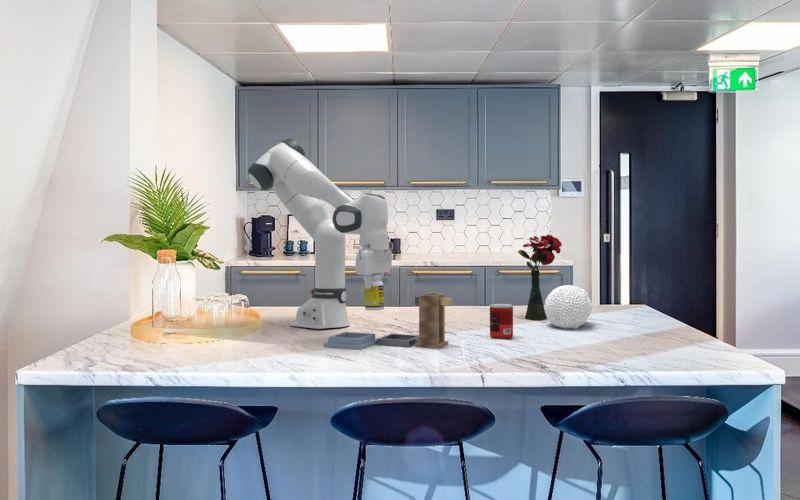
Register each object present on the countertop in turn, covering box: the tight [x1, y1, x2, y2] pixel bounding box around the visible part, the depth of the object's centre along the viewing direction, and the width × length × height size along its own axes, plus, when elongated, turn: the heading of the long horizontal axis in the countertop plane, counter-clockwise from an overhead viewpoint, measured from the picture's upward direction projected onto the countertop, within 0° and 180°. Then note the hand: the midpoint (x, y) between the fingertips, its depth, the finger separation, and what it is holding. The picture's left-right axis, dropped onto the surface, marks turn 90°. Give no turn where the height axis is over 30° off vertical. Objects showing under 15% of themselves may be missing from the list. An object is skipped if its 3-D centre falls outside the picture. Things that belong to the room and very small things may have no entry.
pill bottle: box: [363, 274, 385, 311], centre depth 193 cm, size 6×6×11 cm
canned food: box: [489, 303, 514, 340], centre depth 206 cm, size 8×8×11 cm
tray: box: [323, 331, 377, 351], centre depth 192 cm, size 13×13×3 cm
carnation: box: [516, 234, 563, 321], centre depth 242 cm, size 16×18×35 cm
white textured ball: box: [544, 284, 593, 330], centre depth 225 cm, size 20×18×16 cm
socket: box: [376, 333, 419, 348], centre depth 195 cm, size 11×11×2 cm
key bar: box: [414, 295, 453, 306], centre depth 190 cm, size 11×4×3 cm, turn 67°
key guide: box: [414, 292, 449, 349], centre depth 190 cm, size 8×8×16 cm
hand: (373, 287), depth 193 cm, fingers closed on pill bottle, 6 cm apart
